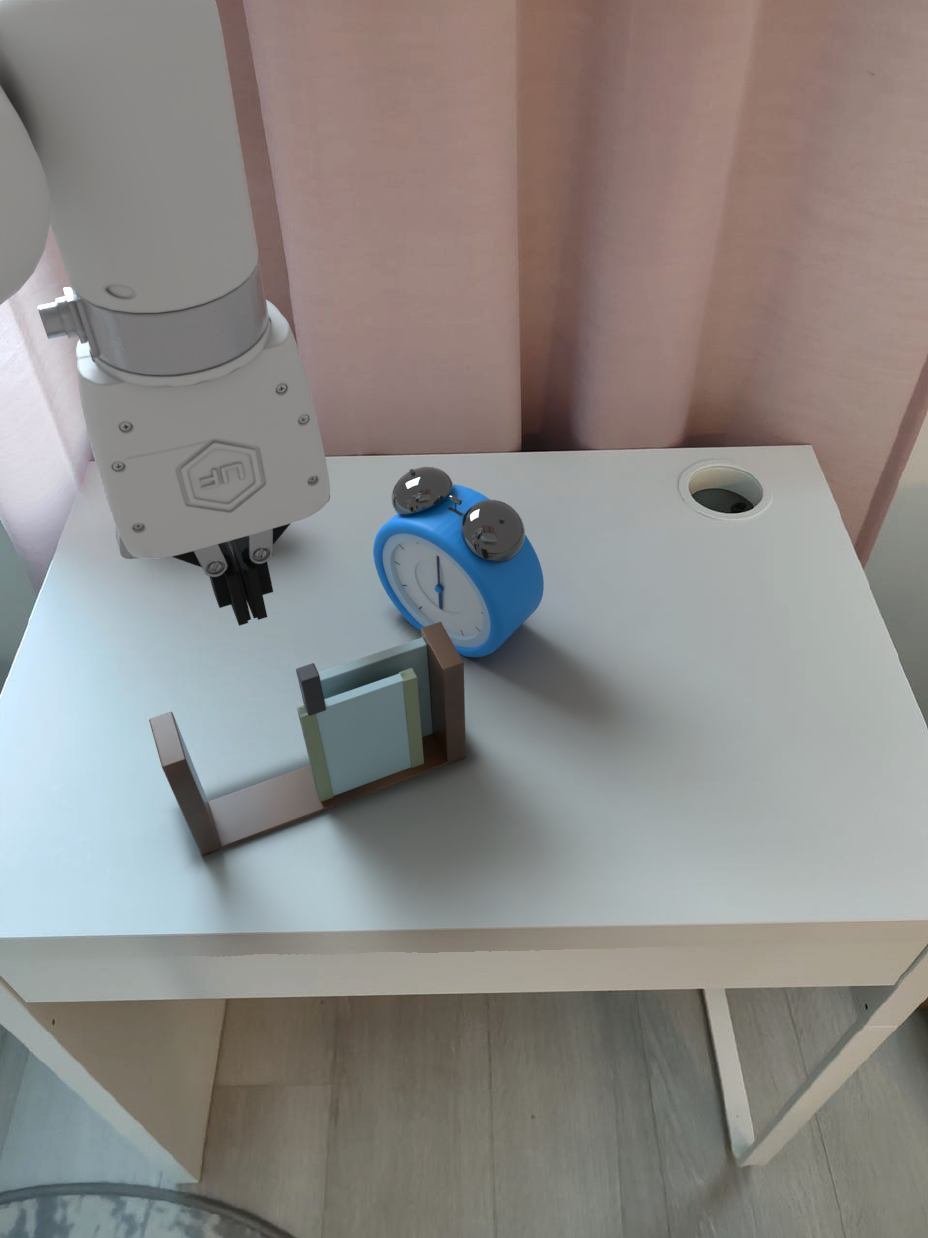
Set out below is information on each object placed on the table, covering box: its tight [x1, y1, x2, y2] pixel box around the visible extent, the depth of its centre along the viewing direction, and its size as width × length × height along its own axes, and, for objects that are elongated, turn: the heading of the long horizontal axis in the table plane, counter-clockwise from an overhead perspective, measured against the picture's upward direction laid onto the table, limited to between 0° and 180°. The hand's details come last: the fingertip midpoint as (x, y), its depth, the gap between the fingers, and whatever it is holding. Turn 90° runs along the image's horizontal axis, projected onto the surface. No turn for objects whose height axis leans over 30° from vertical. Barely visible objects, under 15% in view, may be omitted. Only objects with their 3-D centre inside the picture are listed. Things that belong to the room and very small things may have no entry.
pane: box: [295, 662, 424, 802], centre depth 67 cm, size 8×1×14 cm, turn 113°
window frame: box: [148, 622, 467, 858], centre depth 69 cm, size 20×4×12 cm, turn 113°
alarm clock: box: [372, 466, 545, 658], centre depth 78 cm, size 13×6×15 cm, turn 51°
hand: (246, 603), depth 55 cm, fingers closed
